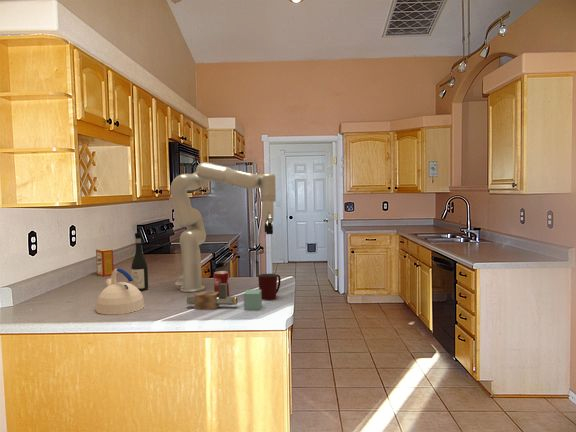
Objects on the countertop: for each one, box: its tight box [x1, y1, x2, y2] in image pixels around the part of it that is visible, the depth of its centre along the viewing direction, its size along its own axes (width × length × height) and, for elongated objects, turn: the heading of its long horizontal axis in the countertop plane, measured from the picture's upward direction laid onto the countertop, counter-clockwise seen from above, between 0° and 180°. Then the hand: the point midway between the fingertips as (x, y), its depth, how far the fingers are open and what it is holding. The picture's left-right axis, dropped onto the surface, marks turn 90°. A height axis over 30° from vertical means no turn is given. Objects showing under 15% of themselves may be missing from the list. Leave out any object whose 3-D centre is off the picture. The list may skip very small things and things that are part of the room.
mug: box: [257, 273, 282, 301], centre depth 214 cm, size 12×9×11 cm
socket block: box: [243, 289, 263, 311], centre depth 198 cm, size 6×8×7 cm
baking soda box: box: [95, 248, 115, 277], centre depth 280 cm, size 10×6×16 cm
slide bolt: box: [186, 283, 238, 306], centre depth 199 cm, size 22×3×9 cm, turn 85°
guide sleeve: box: [193, 291, 220, 310], centre depth 200 cm, size 10×6×6 cm
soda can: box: [213, 270, 230, 297], centre depth 218 cm, size 7×7×12 cm
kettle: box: [95, 268, 145, 316], centre depth 201 cm, size 20×21×18 cm
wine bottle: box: [130, 232, 149, 292], centre depth 236 cm, size 8×8×30 cm
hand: (268, 233), depth 225 cm, fingers open, 9 cm apart
